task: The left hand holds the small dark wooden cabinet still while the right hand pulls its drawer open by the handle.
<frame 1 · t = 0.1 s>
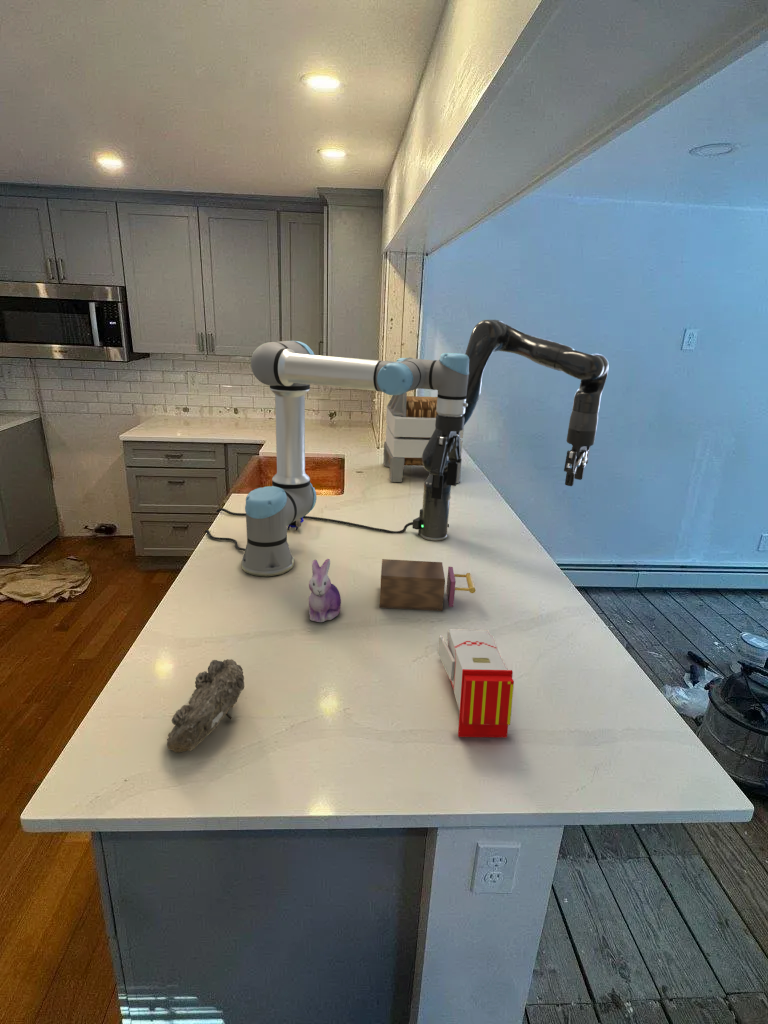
left hand: (444, 491, 156), 28 cm above the counter, tool pointing down, fingers open, 13 cm apart
right hand: (573, 482, 165), 29 cm above the counter, tool pointing down, fingers open, 8 cm apart
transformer: (419, 473, 275), on the counter
figurine: (324, 614, 146), on the counter
figurine character: (294, 525, 203), on the counter
drawer: (434, 585, 153), point 5 cm above the counter, slide at 1.7 cm
cabinet: (410, 599, 155), on the counter
toy: (469, 691, 119), on the counter
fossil: (212, 717, 108), on the counter
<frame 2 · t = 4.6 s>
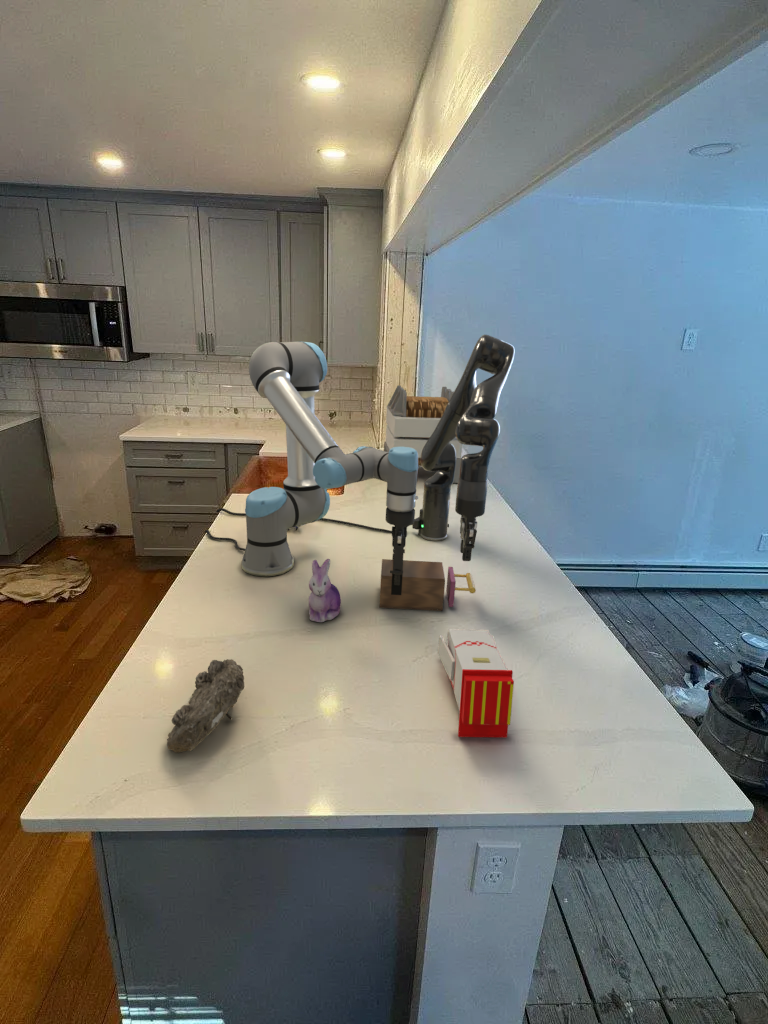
left hand: (396, 584, 154), 4 cm above the counter, tool pointing down, fingers closed on cabinet, 10 cm apart
right hand: (465, 556, 150), 14 cm above the counter, tool pointing down, fingers open, 4 cm apart
cabinet: (410, 599, 155), on the counter, touching left hand
everything else where it was.
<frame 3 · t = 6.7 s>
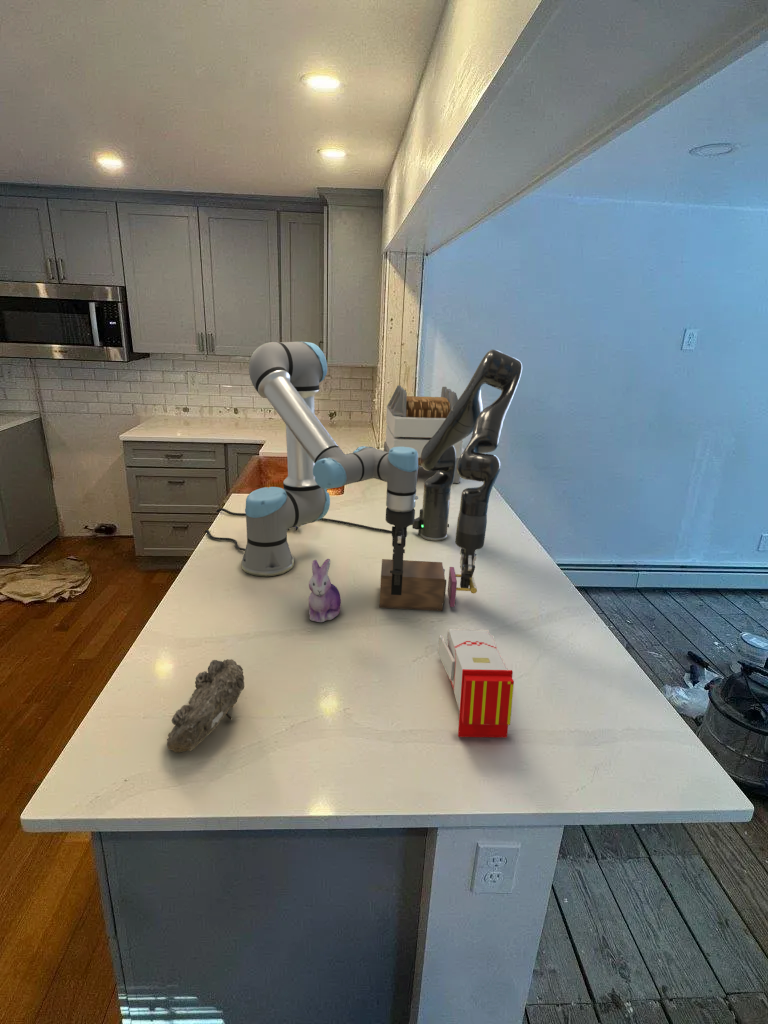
left hand: (396, 584, 154), 4 cm above the counter, tool pointing down, fingers closed on cabinet, 10 cm apart
right hand: (464, 587, 153), 5 cm above the counter, tool pointing down, fingers closed
drawer: (435, 585, 153), point 5 cm above the counter, slide at 2.1 cm, touching right hand
cabinet: (410, 599, 155), on the counter, touching left hand
everything else where it was.
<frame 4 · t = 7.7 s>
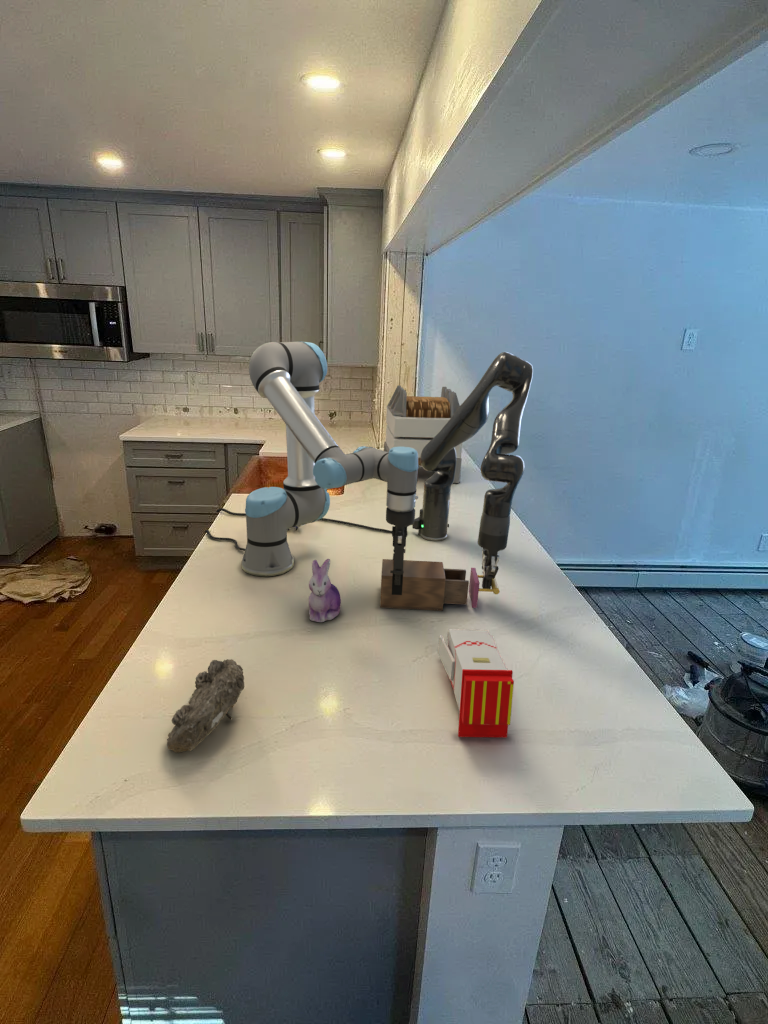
left hand: (396, 584, 154), 4 cm above the counter, tool pointing down, fingers closed on cabinet, 10 cm apart
right hand: (486, 588, 153), 5 cm above the counter, tool pointing down, fingers closed
drawer: (457, 586, 153), point 5 cm above the counter, slide at 7.8 cm, touching right hand
cabinet: (411, 599, 155), on the counter, touching left hand
everything else where it was.
when the left hand's fingers open (4 cm above the counter, at t = 9.5 s): cabinet stays where it is, on the counter.
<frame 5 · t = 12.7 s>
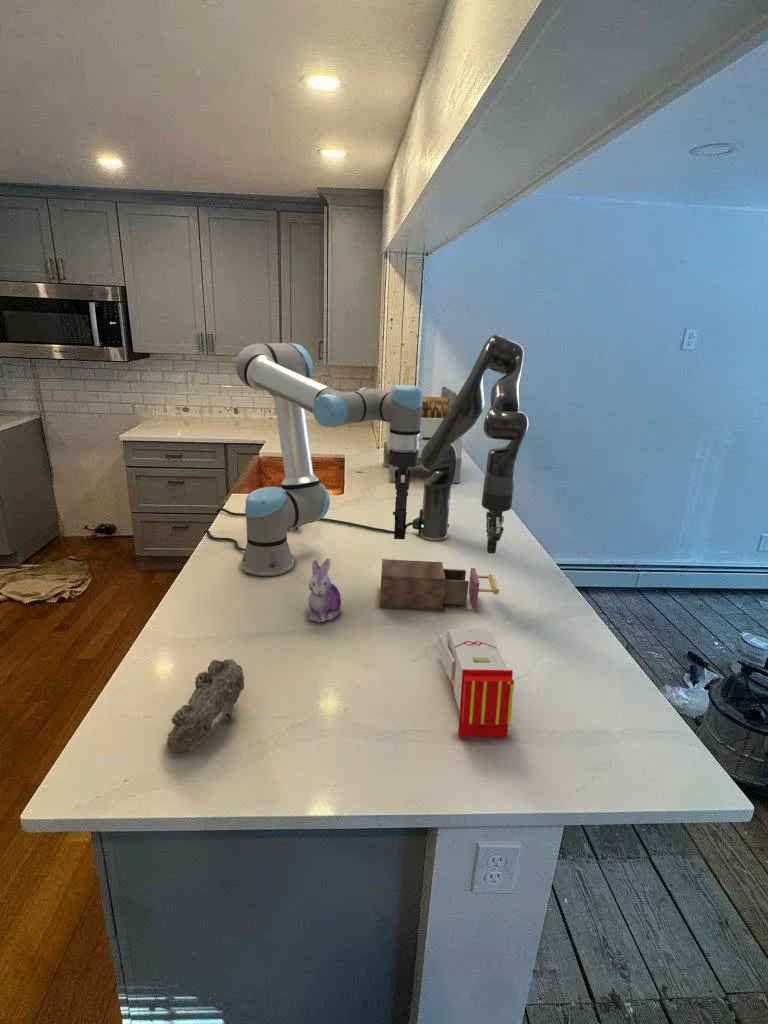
left hand: (399, 528, 148), 21 cm above the counter, tool pointing down, fingers open, 13 cm apart
right hand: (490, 552, 150), 15 cm above the counter, tool pointing down, fingers closed
drawer: (457, 586, 153), point 5 cm above the counter, slide at 7.8 cm
cabinet: (410, 599, 155), on the counter
everything else where it was.
at the end: drawer slide at 7.8 cm; cabinet tilted 0°; cabinet never tilted more than 1° during the clip; cabinet moved 0.1 cm from its start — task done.
